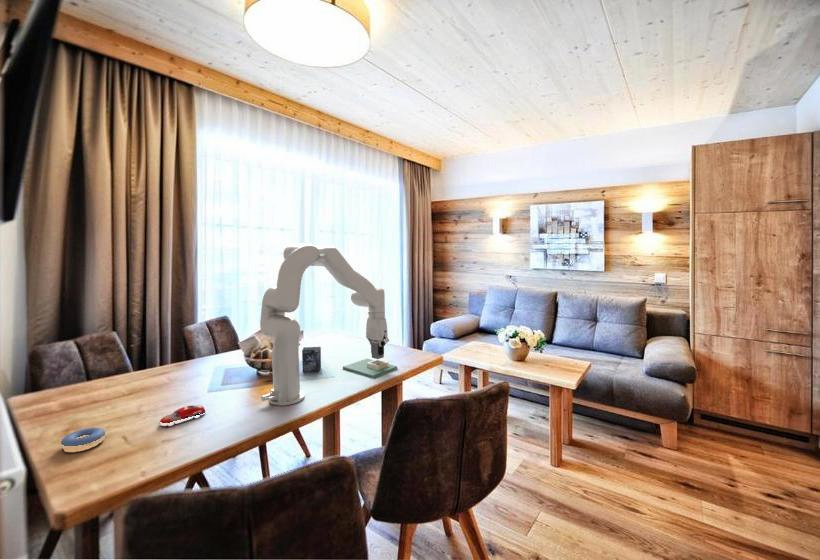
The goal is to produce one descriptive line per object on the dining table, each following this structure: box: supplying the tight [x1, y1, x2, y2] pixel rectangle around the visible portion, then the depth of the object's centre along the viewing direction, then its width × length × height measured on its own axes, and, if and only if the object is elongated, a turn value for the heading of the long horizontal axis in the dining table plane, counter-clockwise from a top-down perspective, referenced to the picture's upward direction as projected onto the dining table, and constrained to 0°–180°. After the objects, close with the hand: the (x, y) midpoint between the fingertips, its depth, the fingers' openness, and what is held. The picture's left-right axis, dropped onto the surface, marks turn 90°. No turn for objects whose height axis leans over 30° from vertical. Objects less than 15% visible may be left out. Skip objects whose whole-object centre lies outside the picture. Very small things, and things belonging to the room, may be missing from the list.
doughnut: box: [60, 427, 106, 446], centre depth 108 cm, size 10×10×5 cm
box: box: [301, 346, 322, 373], centre depth 172 cm, size 8×6×11 cm
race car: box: [159, 404, 206, 423], centre depth 124 cm, size 13×5×4 cm, turn 137°
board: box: [342, 358, 398, 379], centre depth 174 cm, size 16×20×3 cm
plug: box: [370, 340, 385, 360], centre depth 173 cm, size 4×4×8 cm
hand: (377, 353), depth 173 cm, fingers closed on plug, 4 cm apart
